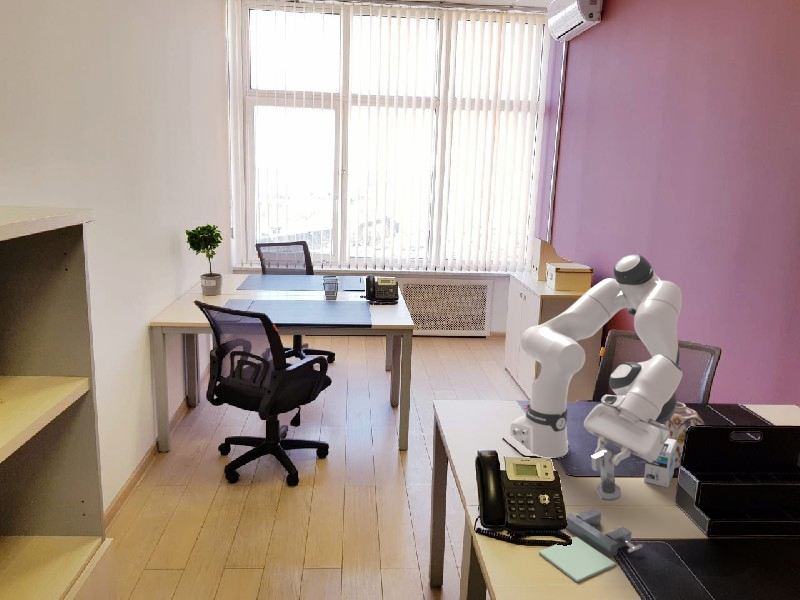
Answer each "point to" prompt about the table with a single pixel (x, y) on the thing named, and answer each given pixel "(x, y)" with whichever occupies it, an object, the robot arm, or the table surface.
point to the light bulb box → (662, 465)
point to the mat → (577, 559)
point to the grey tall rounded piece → (605, 475)
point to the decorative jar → (681, 427)
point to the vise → (599, 533)
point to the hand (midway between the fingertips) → (604, 459)
